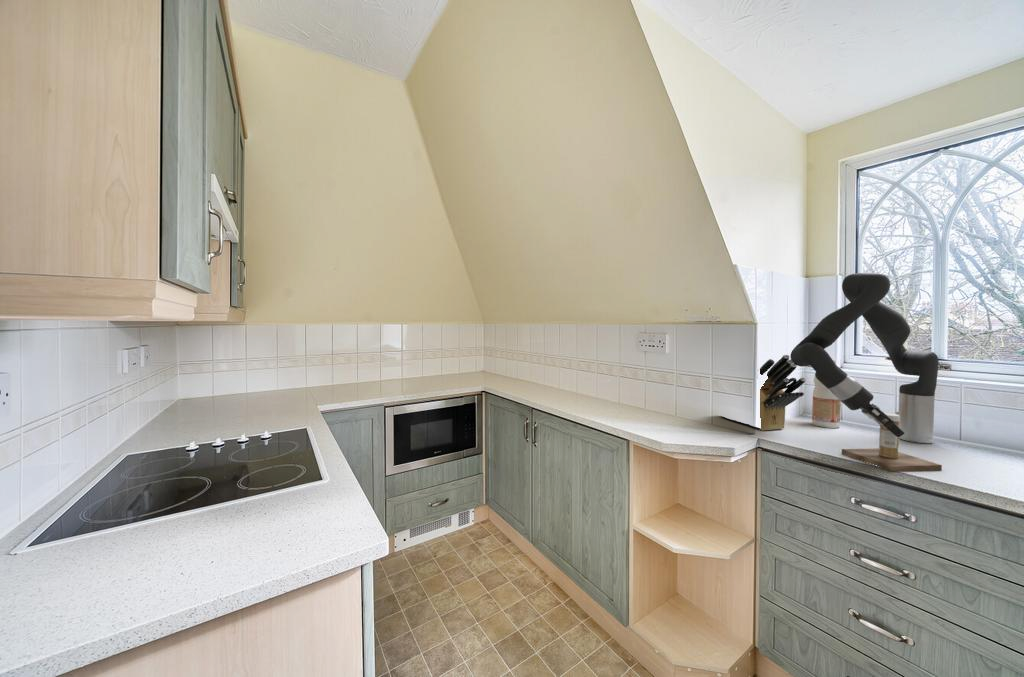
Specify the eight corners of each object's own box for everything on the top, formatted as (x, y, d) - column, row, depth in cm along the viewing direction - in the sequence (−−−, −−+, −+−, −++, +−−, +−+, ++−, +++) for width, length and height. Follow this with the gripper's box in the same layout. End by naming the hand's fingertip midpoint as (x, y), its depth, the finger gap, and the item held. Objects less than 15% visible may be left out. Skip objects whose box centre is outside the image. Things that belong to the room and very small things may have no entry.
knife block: (782, 438, 149) (785, 356, 148) (714, 416, 183) (716, 350, 182) (806, 436, 151) (809, 355, 150) (735, 415, 186) (737, 349, 185)
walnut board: (841, 453, 131) (841, 449, 131) (886, 452, 132) (886, 448, 132) (891, 471, 115) (891, 466, 115) (941, 470, 116) (941, 465, 116)
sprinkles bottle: (900, 457, 123) (901, 414, 123) (895, 460, 121) (897, 416, 120) (880, 453, 127) (882, 411, 126) (876, 455, 124) (877, 413, 124)
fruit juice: (817, 427, 165) (820, 360, 164) (807, 422, 174) (809, 358, 173) (844, 429, 162) (847, 361, 161) (833, 423, 171) (835, 359, 170)
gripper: (868, 387, 120) (917, 430, 115) (853, 381, 133) (898, 419, 128) (845, 403, 123) (892, 445, 118) (833, 396, 135) (875, 433, 130)
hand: (895, 432), depth 123 cm, fingers open, 8 cm apart
